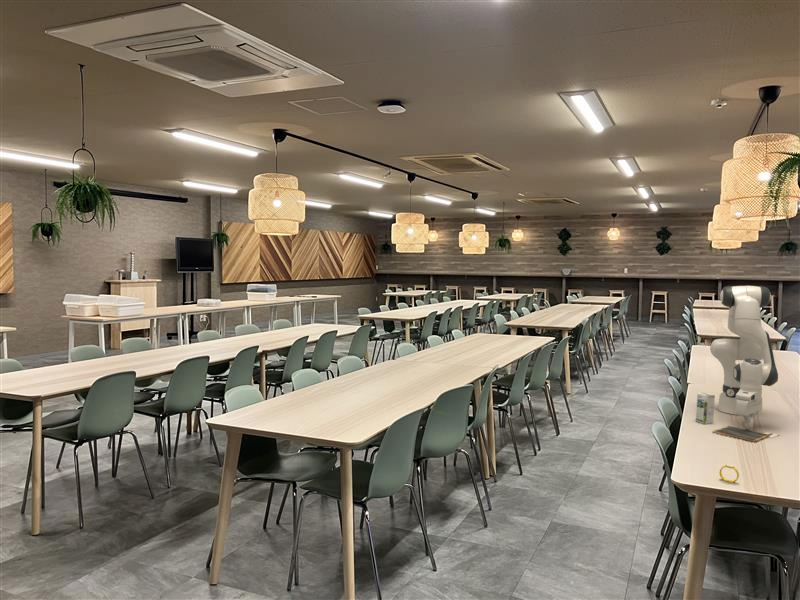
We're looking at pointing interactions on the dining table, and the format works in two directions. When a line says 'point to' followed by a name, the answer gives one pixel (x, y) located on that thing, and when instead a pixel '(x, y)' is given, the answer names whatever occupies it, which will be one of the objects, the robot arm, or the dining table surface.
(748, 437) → the brown slatted mat
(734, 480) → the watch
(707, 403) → the syrup box
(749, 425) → the small white bottle
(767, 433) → the word card
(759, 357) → the robot arm
